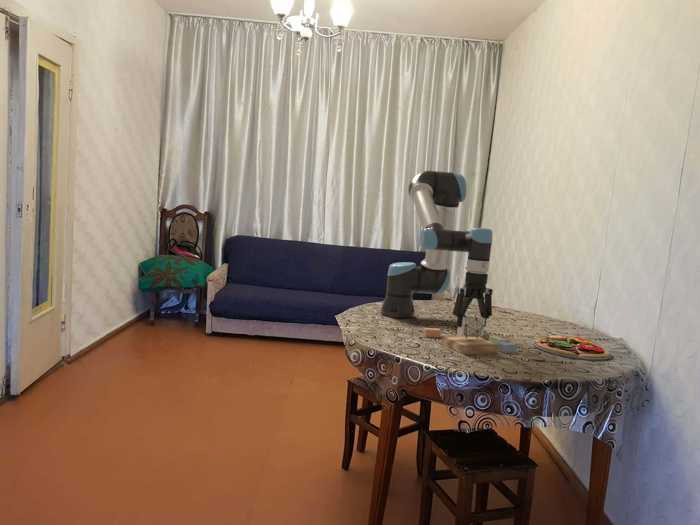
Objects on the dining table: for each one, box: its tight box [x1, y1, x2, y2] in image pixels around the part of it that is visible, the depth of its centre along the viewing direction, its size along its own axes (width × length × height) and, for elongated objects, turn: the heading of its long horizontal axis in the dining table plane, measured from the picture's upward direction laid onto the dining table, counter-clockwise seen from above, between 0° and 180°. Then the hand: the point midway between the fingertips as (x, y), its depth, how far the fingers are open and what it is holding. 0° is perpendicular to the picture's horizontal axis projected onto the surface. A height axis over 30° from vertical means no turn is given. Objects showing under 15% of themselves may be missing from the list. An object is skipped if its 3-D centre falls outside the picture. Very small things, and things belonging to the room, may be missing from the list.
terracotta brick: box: [422, 327, 442, 338], centre depth 218 cm, size 6×3×3 cm, turn 101°
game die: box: [456, 314, 486, 339], centre depth 203 cm, size 9×8×10 cm
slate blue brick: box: [497, 341, 518, 353], centre depth 204 cm, size 6×3×3 cm, turn 116°
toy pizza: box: [532, 335, 613, 361], centre depth 215 cm, size 28×28×4 cm
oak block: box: [440, 334, 498, 355], centre depth 203 cm, size 14×14×3 cm
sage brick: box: [488, 335, 507, 345], centre depth 213 cm, size 6×3×3 cm, turn 27°
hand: (470, 335), depth 203 cm, fingers closed on game die, 8 cm apart
